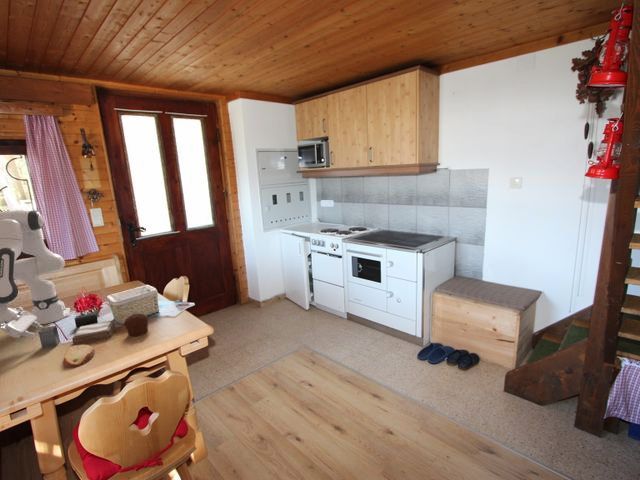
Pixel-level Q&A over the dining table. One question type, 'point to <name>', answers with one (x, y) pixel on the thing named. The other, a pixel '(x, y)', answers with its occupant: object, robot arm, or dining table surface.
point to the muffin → (136, 324)
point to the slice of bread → (78, 355)
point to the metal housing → (49, 337)
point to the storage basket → (133, 302)
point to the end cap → (86, 319)
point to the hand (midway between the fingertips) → (38, 332)
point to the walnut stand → (93, 332)
